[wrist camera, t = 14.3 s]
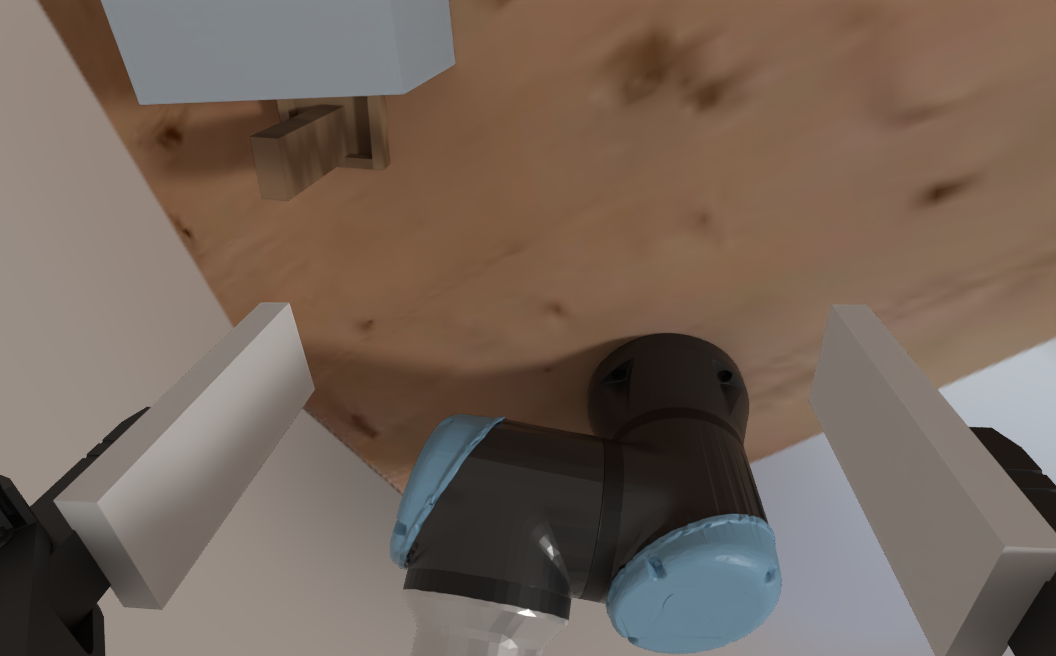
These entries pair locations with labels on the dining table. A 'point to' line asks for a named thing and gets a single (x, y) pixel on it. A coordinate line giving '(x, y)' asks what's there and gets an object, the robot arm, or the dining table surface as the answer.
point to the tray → (319, 142)
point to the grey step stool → (279, 47)
